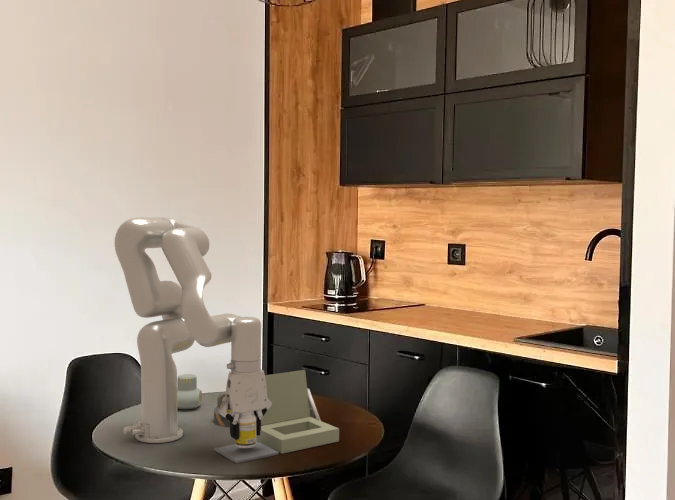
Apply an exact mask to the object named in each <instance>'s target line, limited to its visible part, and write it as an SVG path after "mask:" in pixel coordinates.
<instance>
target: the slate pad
mask: <svg viewBox="0 0 675 500" xmlns="http://www.w3.org/2000/svg"><path fill="white" fill-rule="evenodd" d="M213 449H214V452H216V453H217V454H219V455H222V456H223V457H225V458H227V460H229V461H231V462H233V463H235V464H240V463H245V462H250V461H254V460H259V459H263V458H268V457H272V456H277V455H279V452H278V451H276V450H274V449H272V448H270V447H268V446H266V445H264V444H262V443H260V442H258V441H256V445H255V446H254V447H251V448H239V447H237V446H236V445H235V443H233V444H229V445H224V446H218V447H214V448H213Z"/></svg>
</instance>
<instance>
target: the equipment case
mask: <svg viewBox="0 0 675 500" xmlns="http://www.w3.org/2000/svg"><path fill="white" fill-rule="evenodd" d="M306 376H307V374H306V370H305V369H302V370H295V371H289V372H281V373H273V374H266V375H265V379H266V387H267V398H268V399H269V400H270V401H271V402H272V405H271V407H270V408H269V409H268V410H267V412H266V413H265V415H264V416H263V419H262V420H261V425H263V426H261V431H260V435H259V436H257V435H256V441H258V442H260V443H262V444H264V445H266V446H268V447H269V448H271V449H273V450H275V451H277V452H279V453H280V454H281V455H282V454H287V453H292V452H296V451H297V452H298V451H301V450H305V449H309V448H310V449H311V448H315V447H319V446H324V445H328V444H333V443H339V442H340V428H339V427H336V426H333V425H331V424H329V423H326V422H324V421H322V420H321V418H320V415H319V412H318V409H317V407H316V404H315V400H314V398H313V396H312V393H311V390H310V388H308V383H307V377H306ZM308 397H309V400H310V403H311V405H312V408H313V411H314V417H313V418H312V417H308V416H310V410H309V400H308ZM253 415H254V414H253ZM303 417H306V418H303ZM297 418H300V419H297ZM292 419H295V420H292ZM287 420H289V421H287ZM281 421H284V422H281ZM276 422H279V423H276ZM270 423H273V424H270ZM265 424H268V425H265Z"/></svg>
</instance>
